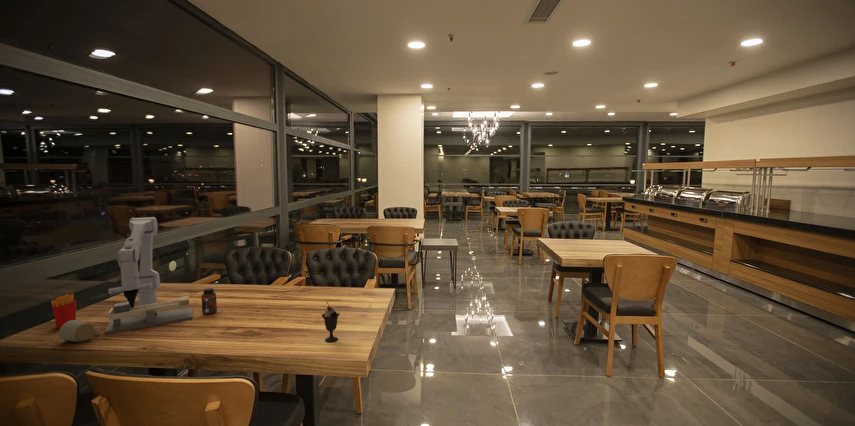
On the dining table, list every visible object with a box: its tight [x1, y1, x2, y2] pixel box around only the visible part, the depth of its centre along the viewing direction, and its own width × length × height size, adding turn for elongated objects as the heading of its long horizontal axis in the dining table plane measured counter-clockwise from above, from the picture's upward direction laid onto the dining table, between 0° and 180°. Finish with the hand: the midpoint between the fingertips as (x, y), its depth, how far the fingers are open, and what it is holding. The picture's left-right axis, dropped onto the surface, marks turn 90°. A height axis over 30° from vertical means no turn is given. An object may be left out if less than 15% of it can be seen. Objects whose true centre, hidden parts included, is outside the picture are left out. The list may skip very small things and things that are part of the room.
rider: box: [112, 301, 131, 314], centre depth 158 cm, size 4×5×4 cm
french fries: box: [50, 293, 77, 329], centre depth 159 cm, size 9×4×13 cm, turn 2°
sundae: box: [321, 301, 340, 343], centre depth 144 cm, size 7×7×15 cm
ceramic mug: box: [58, 319, 100, 343], centre depth 146 cm, size 11×8×8 cm
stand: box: [104, 303, 193, 335], centre depth 164 cm, size 14×30×6 cm, turn 122°
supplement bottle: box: [201, 287, 218, 315], centre depth 174 cm, size 6×6×11 cm
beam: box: [108, 295, 190, 321], centre depth 164 cm, size 7×28×4 cm, turn 122°
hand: (132, 307), depth 160 cm, fingers closed
